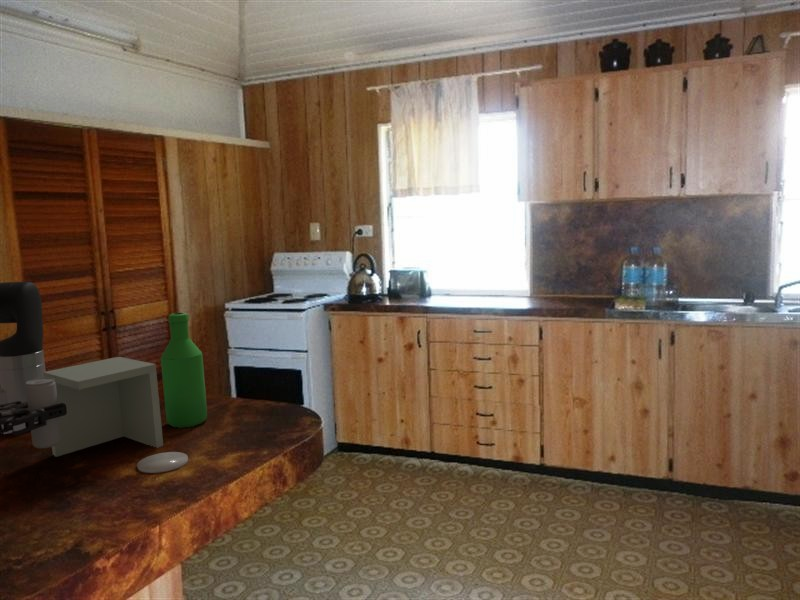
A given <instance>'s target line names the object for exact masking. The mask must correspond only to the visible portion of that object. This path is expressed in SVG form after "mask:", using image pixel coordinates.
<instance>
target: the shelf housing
mask: <svg viewBox="0 0 800 600" xmlns="http://www.w3.org/2000/svg"><path fill="white" fill-rule="evenodd" d="M156 364H157V363H152V362H147V361H142V360H137V359H131V358H128V357H121V356H116V357H111V358H106V359H105V358H104V359H101V360H97V361H91V362H87V363H83V364H77V365H72V366H67V367H62V368H57V369H53V370H48V371H46V372H43V375H44V378H54V381H55V383H56V390H57V399H58V404H60V403H64V404H66V409H67V414H66V415H64V416H60V425H61V434H62V440H61V442H60V443H59V444H58V445H56V446H53V447H51V449H52V451H51V452H52V456H53V455H54V456H53V457H60V456H63V455H67V454H71V453H73V452H76V451H80V450H84V449H87V448H91V447H93V446H97V445H100V444H103V443H107V442H110V441H113V440H117V439H120V438H123V437H124V438H127V439H131V440H133V441H135V442H139V443H142V444H144V445H148V446H149V445H150V446H149V447H152V446H153V448H155V447H156V449H157V448H161V447H164V439H163V428H162V418H161V408H160V406H161V405H160V396H159V385H158V374H157V365H156Z"/></svg>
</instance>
